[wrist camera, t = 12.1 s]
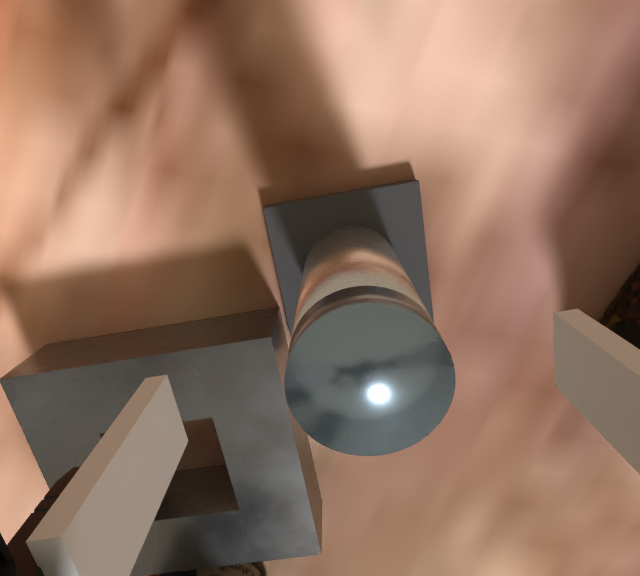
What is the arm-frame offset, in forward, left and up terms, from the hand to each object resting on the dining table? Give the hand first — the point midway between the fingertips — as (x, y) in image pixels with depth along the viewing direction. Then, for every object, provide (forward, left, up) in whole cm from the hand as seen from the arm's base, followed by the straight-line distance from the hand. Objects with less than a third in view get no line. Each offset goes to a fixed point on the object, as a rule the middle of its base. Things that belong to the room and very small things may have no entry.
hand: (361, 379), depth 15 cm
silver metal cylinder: (0, 0, -13) cm, 13 cm away
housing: (-13, -10, -14) cm, 21 cm away
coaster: (0, 0, -14) cm, 14 cm away
